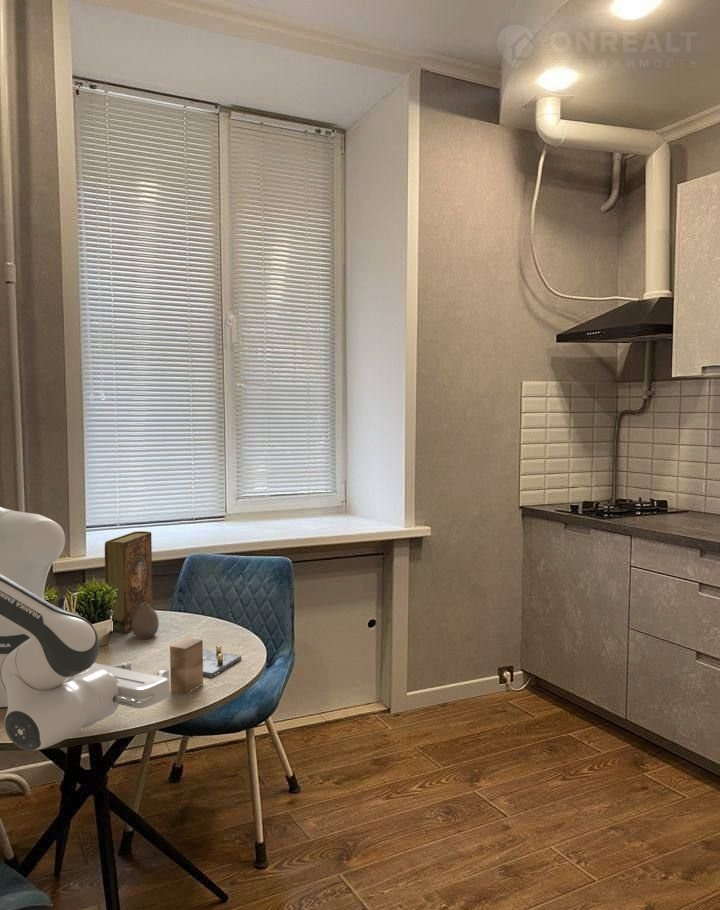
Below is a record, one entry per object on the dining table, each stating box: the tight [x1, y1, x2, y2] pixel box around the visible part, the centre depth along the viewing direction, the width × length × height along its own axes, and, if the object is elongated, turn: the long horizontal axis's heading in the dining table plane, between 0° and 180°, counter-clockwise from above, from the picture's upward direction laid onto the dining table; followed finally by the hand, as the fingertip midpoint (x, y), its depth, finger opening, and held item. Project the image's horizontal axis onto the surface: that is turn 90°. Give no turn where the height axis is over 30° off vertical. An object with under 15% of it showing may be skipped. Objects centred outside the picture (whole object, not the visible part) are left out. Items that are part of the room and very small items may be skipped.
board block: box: [169, 637, 204, 695], centre depth 150 cm, size 4×6×10 cm, turn 157°
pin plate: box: [203, 644, 242, 677], centre depth 164 cm, size 11×12×3 cm
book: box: [104, 530, 154, 635], centre depth 193 cm, size 16×6×25 cm, turn 168°
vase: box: [131, 603, 160, 640], centre depth 184 cm, size 7×7×9 cm
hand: (147, 670), depth 138 cm, fingers open, 8 cm apart
